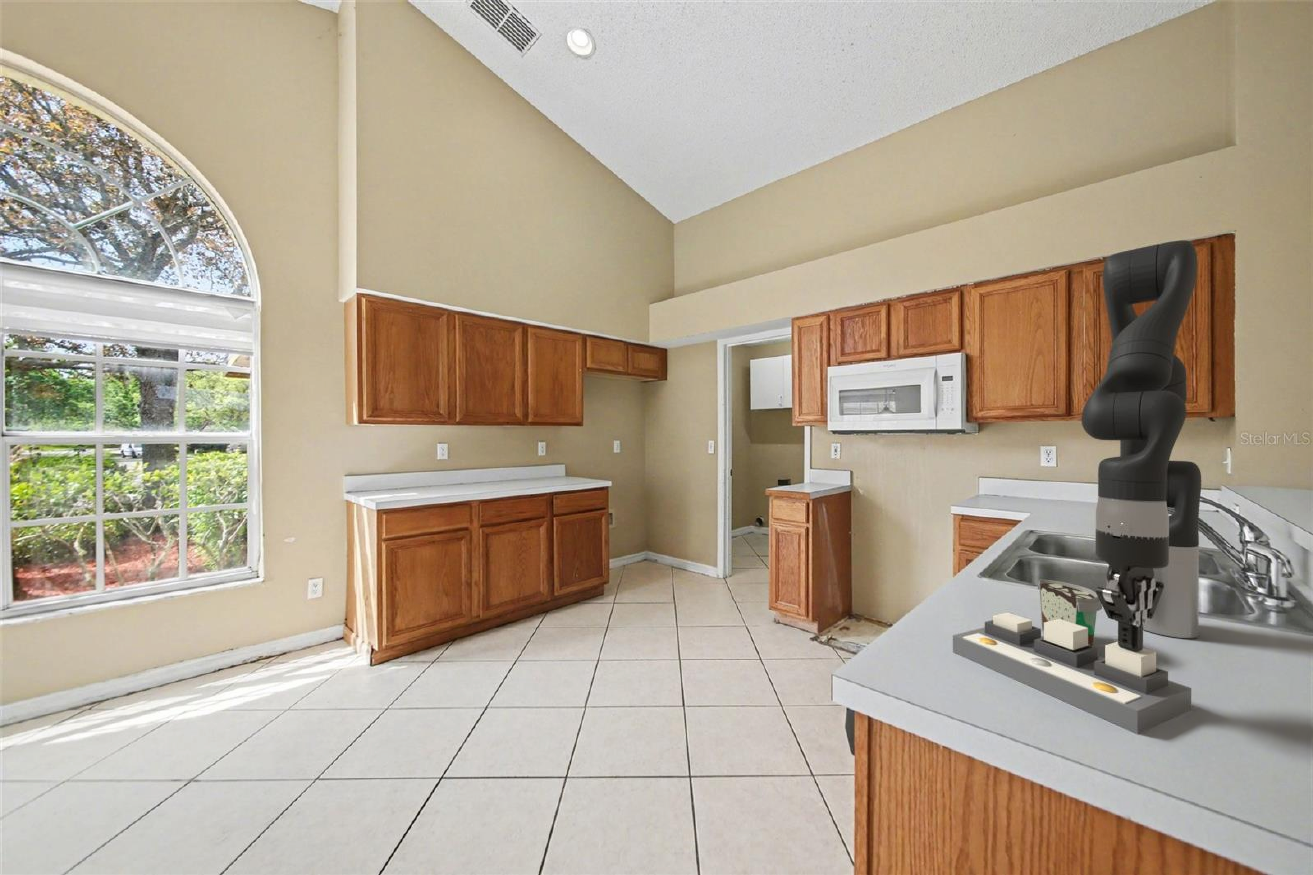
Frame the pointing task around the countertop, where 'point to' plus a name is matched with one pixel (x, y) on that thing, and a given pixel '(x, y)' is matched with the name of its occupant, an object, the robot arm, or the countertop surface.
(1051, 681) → the button board
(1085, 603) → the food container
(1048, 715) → the countertop surface
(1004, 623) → the button left
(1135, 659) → the button right
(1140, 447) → the robot arm
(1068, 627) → the button middle
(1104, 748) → the countertop surface
